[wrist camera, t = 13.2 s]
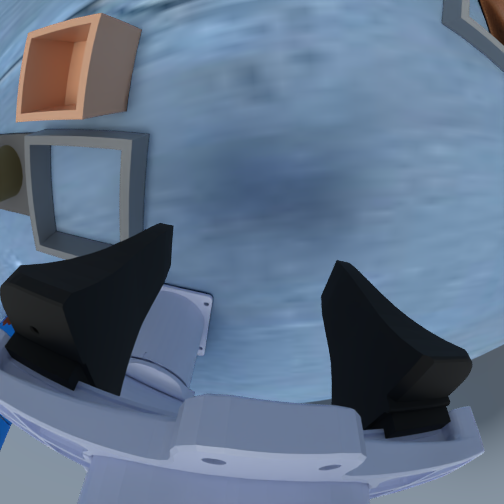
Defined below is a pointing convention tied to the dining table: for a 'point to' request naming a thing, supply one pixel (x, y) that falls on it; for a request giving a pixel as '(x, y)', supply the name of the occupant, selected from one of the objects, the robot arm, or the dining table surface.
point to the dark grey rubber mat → (21, 199)
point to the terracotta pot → (77, 69)
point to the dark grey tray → (472, 30)
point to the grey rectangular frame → (41, 186)
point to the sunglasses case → (494, 17)
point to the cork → (9, 173)
